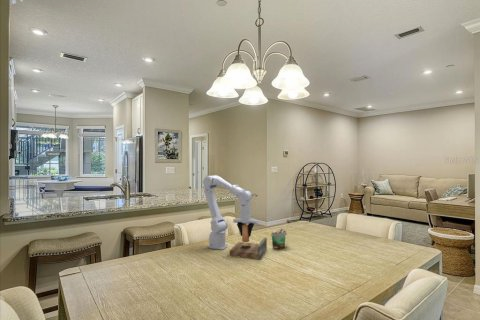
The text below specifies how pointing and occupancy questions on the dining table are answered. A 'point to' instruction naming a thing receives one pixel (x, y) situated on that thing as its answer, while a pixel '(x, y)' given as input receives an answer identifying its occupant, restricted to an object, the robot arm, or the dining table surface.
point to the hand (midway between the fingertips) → (245, 235)
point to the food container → (279, 239)
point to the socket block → (249, 249)
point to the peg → (245, 233)
